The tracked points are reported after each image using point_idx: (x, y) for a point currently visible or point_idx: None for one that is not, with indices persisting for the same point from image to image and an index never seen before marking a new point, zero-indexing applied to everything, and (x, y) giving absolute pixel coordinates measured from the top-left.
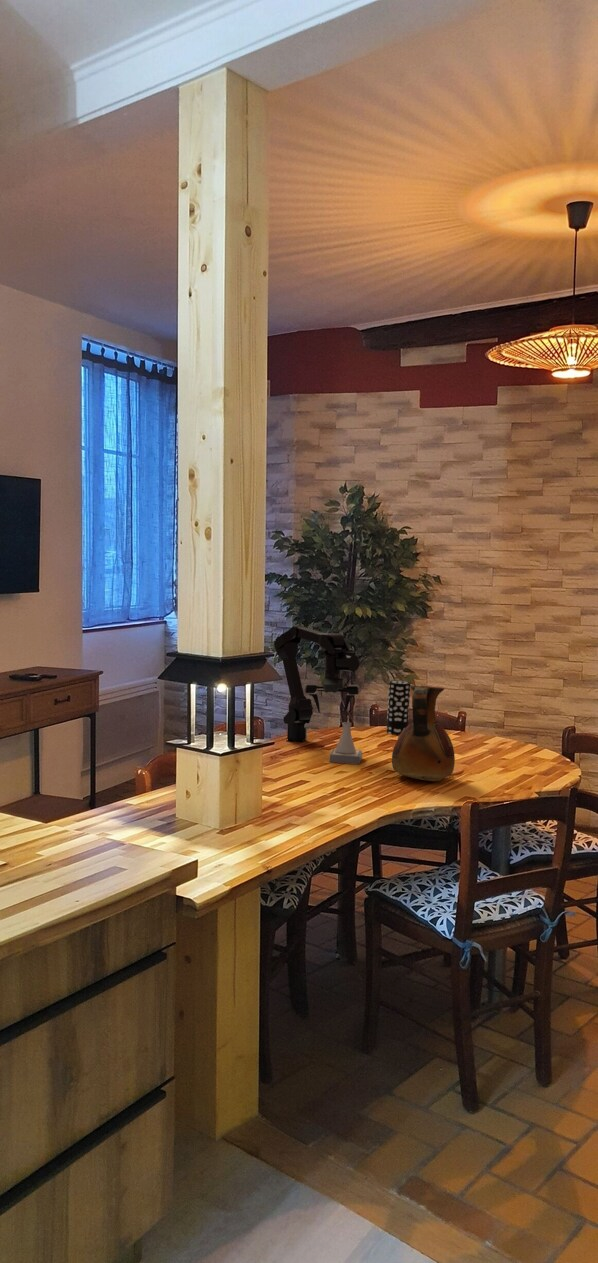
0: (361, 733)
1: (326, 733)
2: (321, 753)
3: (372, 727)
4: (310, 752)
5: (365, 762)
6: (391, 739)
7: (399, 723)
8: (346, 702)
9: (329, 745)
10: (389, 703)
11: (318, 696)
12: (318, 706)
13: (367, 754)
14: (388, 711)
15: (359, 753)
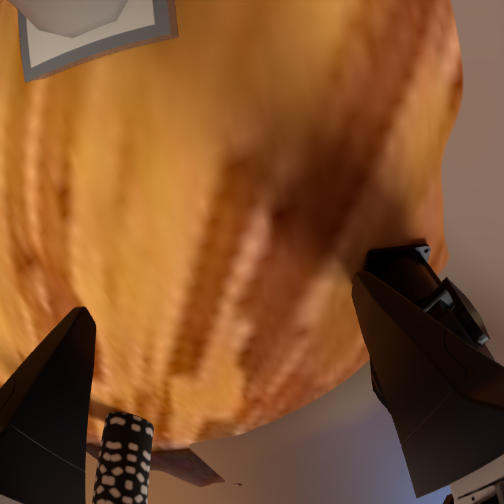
0: (197, 407)
1: (292, 382)
2: (249, 57)
3: (197, 439)
4: (311, 58)
5: None
6: (101, 380)
7: (110, 436)
8: (15, 397)
9: (249, 245)
10: (136, 484)
11: (440, 443)
12: (400, 314)
13: (45, 157)
14: (140, 466)
15: (24, 18)
